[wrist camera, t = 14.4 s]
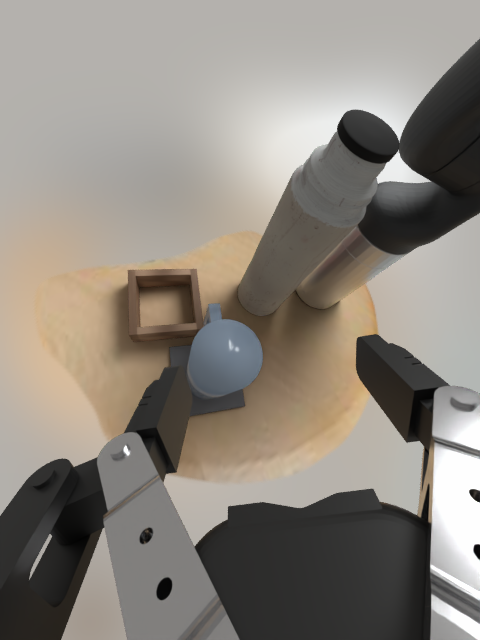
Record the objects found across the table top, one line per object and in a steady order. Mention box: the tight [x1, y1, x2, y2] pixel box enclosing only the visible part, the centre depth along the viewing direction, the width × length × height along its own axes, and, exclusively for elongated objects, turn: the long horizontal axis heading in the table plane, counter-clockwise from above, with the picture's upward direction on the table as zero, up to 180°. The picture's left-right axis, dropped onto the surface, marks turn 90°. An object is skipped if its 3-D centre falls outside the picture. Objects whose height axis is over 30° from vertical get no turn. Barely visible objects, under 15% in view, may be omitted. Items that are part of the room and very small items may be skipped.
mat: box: [170, 345, 245, 416], centre depth 36 cm, size 10×10×1 cm
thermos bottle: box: [238, 110, 399, 316], centre depth 31 cm, size 8×8×28 cm
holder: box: [128, 269, 204, 342], centre depth 37 cm, size 10×10×4 cm
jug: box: [186, 303, 263, 400], centre depth 29 cm, size 6×9×16 cm
